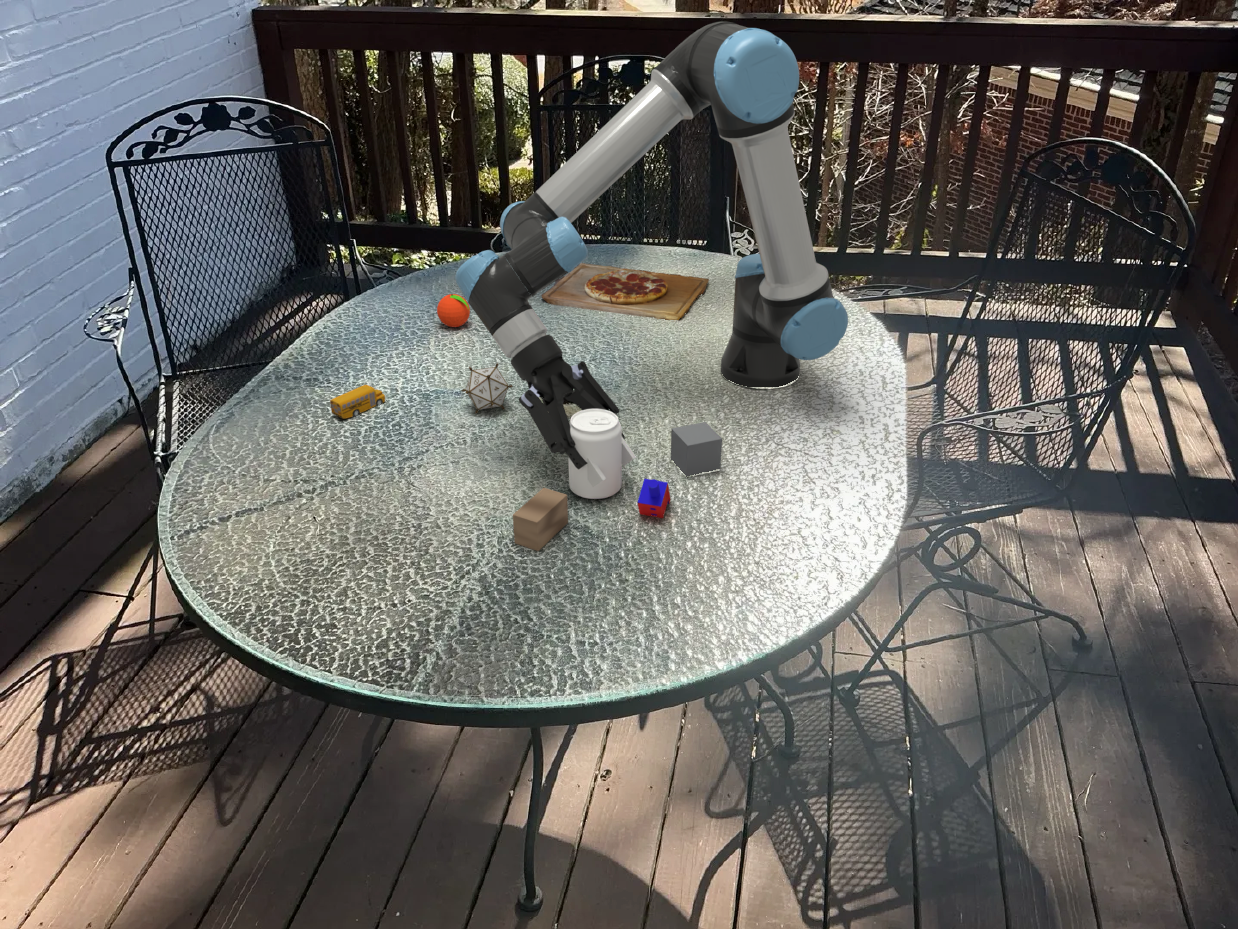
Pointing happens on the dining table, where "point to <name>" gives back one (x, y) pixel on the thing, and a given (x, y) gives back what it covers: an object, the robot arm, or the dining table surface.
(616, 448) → the beverage can
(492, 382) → the game die
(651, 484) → the toy building block
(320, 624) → the dining table surface
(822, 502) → the dining table surface
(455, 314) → the clementine
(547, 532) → the walnut brick
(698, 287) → the pizza
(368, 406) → the toy bus
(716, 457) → the grey cube
